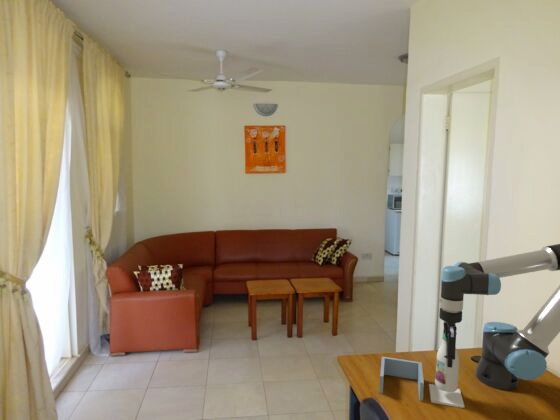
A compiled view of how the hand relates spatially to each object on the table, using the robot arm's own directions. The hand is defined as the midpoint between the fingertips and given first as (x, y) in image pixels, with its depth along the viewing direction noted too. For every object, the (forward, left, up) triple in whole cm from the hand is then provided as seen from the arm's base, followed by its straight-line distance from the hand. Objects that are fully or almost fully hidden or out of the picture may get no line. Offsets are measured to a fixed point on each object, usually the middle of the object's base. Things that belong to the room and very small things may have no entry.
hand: (447, 368), depth 139 cm
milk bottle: (0, 0, -7) cm, 7 cm away
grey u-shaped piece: (+16, -2, -11) cm, 20 cm away
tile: (0, 0, -11) cm, 11 cm away
